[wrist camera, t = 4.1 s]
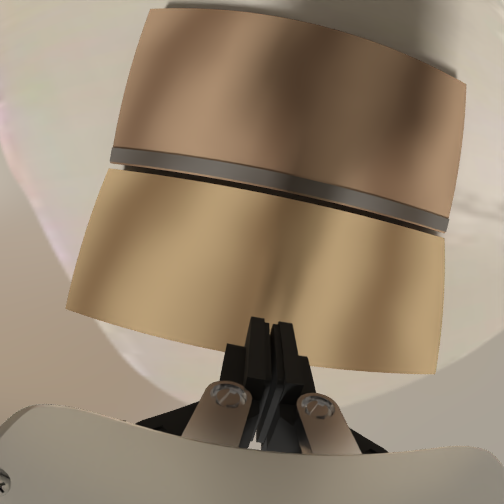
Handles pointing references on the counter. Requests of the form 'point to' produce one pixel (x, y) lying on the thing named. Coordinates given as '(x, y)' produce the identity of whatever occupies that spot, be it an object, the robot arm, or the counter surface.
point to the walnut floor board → (293, 112)
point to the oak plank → (260, 273)
